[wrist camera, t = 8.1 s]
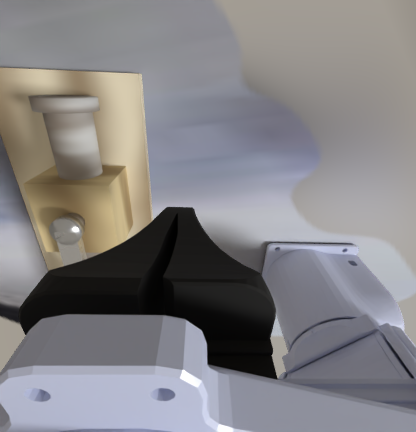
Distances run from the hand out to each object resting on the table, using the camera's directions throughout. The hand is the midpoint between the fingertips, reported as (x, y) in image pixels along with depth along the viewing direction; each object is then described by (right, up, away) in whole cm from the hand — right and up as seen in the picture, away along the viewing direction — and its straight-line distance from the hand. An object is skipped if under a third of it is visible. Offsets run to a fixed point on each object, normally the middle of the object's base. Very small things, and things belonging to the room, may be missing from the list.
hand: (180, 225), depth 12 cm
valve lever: (-9, -4, +8) cm, 12 cm away
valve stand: (-8, +3, +10) cm, 13 cm away
